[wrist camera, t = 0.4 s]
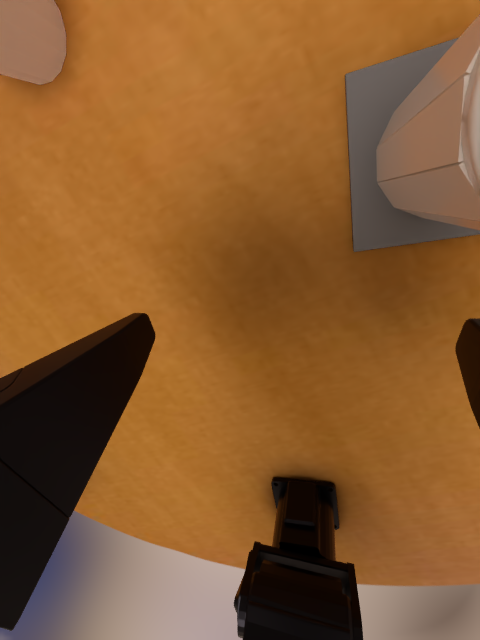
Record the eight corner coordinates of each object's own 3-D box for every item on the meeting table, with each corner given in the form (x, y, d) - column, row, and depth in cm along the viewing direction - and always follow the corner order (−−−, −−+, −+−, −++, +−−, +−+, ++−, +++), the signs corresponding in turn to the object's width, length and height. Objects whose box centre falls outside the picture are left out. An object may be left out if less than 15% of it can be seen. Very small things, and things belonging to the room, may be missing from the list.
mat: (534, 225, 17) (539, 225, 16) (353, 251, 20) (353, 251, 19) (571, 4, 13) (578, -1, 13) (345, 76, 16) (345, 74, 16)
